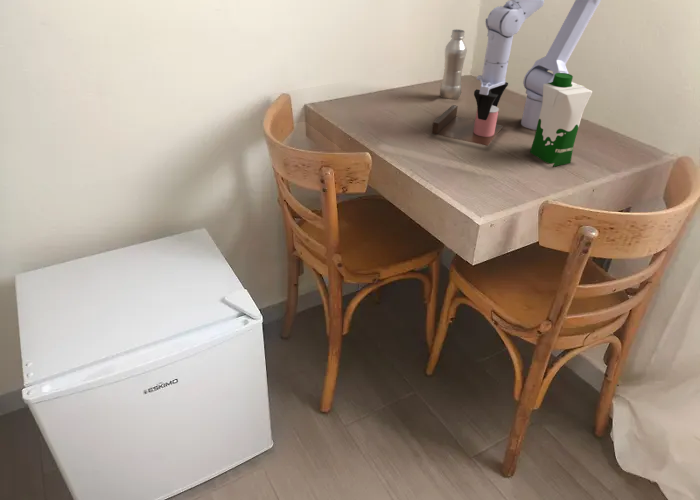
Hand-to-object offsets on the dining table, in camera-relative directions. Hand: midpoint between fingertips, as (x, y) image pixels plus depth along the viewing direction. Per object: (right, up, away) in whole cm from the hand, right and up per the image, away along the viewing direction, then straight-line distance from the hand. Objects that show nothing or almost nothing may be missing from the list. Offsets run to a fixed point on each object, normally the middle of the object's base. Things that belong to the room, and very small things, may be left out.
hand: (486, 114), depth 139 cm
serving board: (-4, -4, +5) cm, 7 cm away
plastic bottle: (-5, +11, +27) cm, 30 cm away
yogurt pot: (0, -4, +3) cm, 5 cm away
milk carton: (+14, -13, -7) cm, 20 cm away
